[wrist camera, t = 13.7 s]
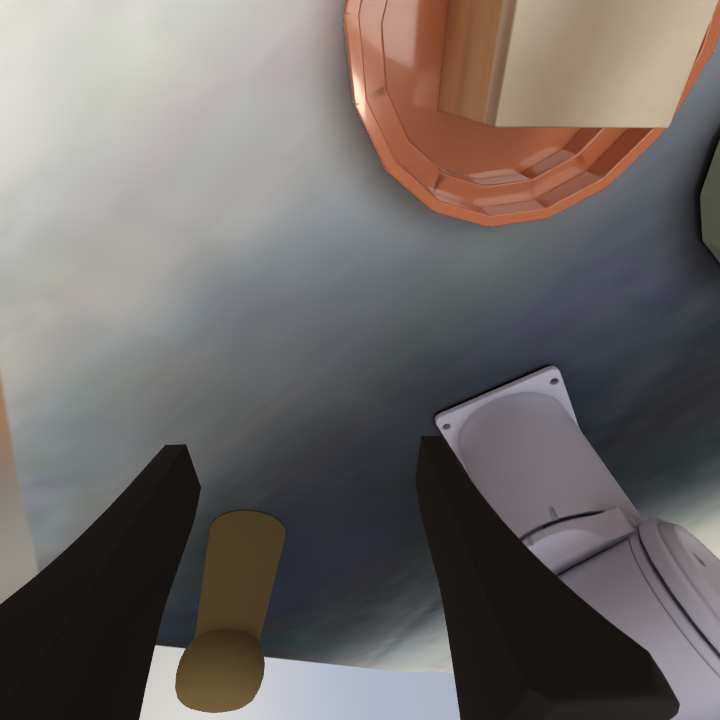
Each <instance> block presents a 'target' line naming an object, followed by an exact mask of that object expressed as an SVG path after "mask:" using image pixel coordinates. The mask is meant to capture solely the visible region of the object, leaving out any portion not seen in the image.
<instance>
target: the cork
mask: <svg viewBox="0 0 720 720" xmlns="http://www.w3.org/2000/svg"><path fill="white" fill-rule="evenodd" d="M285 536H286V532H285V528H284V526H283V525H282V524H281V522H280V521H278V520H277V519H275V518H274V517H272V516H270V515H267V514H264V513H261V512H255V511H248V510H247V511H234V512H230V513H226V514H223V515H221V516H220V517H218V518H216V519H215V520H214V521H213V523H212V524H211V527H210V532H209V540H208V547H207V554H206V562H205V569H204V577H203V584H202V591H201V599H200V606H199V613H198V621H197V628H196V635H195V639H194V640H193V641H192V642H191V644H190V645H189V646H188V647H187V648H186V649H185V651H184V653H183V655H182V657H181V660H180V662H179V666H178V669H177V673H176V685H175V689H176V693H177V697H178V699H179V700H180V701H181V703H183V704H184V705H185V706H186V707H188V708H190V709H194V710H198V711H202V712H210V713H218V712H227V711H233V710H237V709H240V708H242V707H243V706H245V705H247V704H248V703H250V702H251V701H252V700H253V699H254V697H255V695H256V694H257V692H258V690H259V688H260V685H261V682H262V679H263V675H264V666H265V665H264V664H265V663H264V653H263V651H262V648H261V646H260V644H259V639H260V635H261V631H262V627H263V624H264V620H265V616H266V612H267V608H268V604H269V600H270V596H271V592H272V588H273V584H274V580H275V576H276V572H277V568H278V564H279V560H280V556H281V552H282V548H283V544H284V540H285Z"/></svg>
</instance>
